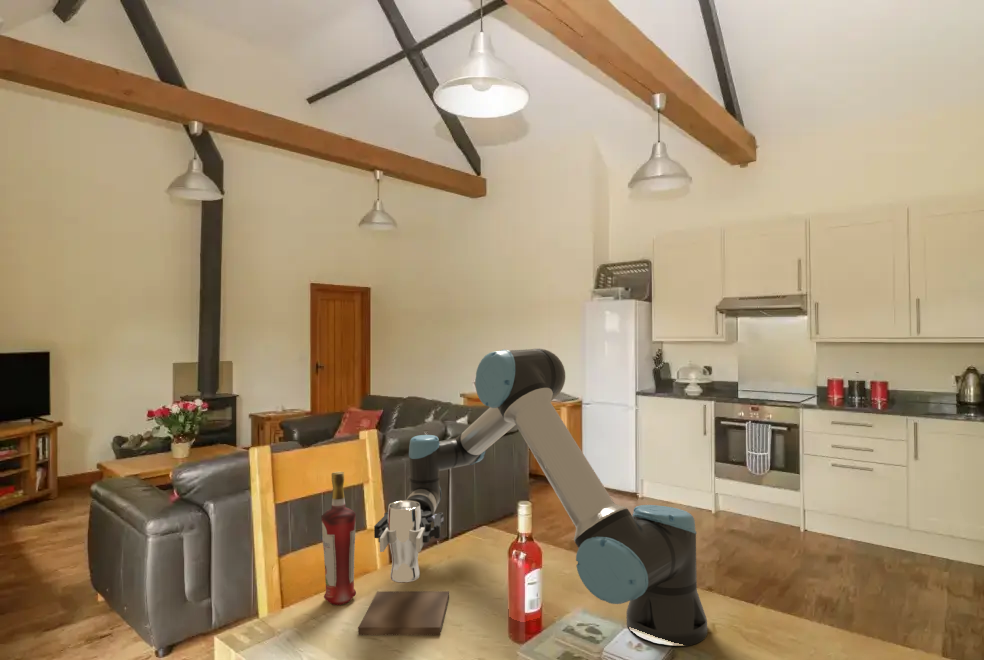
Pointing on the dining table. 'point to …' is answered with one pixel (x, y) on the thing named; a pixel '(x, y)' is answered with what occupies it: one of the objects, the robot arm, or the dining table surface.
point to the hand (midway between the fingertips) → (399, 544)
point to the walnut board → (405, 613)
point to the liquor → (339, 546)
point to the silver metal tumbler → (404, 540)
